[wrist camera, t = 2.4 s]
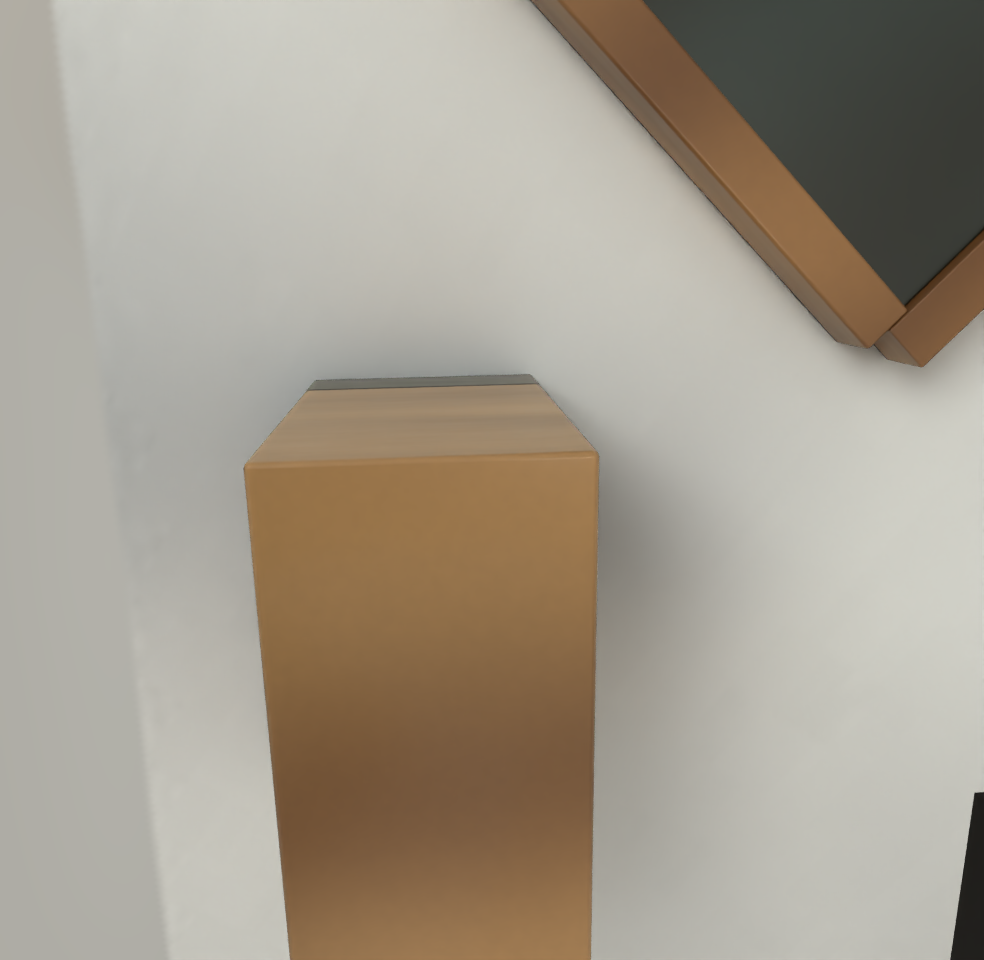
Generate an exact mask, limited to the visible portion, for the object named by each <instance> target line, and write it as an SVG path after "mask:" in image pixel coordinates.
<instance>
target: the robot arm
mask: <svg viewBox="0 0 984 960" xmlns="http://www.w3.org/2000/svg"><path fill="white" fill-rule="evenodd" d="M950 960H984V792H980V793H975V794H974V801H973V808H972V815H971V822H970V828H969V835H968V842H967V849H966V856H965V863H964V870H963V877H962V883H961V890H960V897H959V904H958V911H957V918H956V925H955V931H954V938H953V945H952V952H951V959H950Z"/></svg>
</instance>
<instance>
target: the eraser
mask: <svg viewBox="0 0 984 960" xmlns="http://www.w3.org/2000/svg"><path fill="white" fill-rule="evenodd" d="M244 478H245V489H246V499H247V510H248V520H249V531H250V541H251V552H252V562H253V573H254V584H255V594H256V605H257V615H258V626H259V636H260V647H261V658H262V668H263V679H264V689H265V700H266V710H267V721H268V731H269V742H270V753H271V763H272V774H273V784H274V795H275V805H276V816H277V826H278V837H279V848H280V858H281V869H282V879H283V890H284V900H285V911H286V922H287V932H288V943H289V953H290V960H591V925H592V865H593V805H594V745H595V685H596V625H597V565H598V505H599V454H598V452H597V451H596V450H595V449H594V447H593V446H592V445H591V444H590V443H589V442H588V440H587V439H586V438H585V437H584V436H583V435H582V434H581V432H580V431H579V430H578V429H577V428H576V427H575V425H574V424H573V423H572V422H571V421H570V420H569V419H568V417H567V416H566V415H565V414H564V413H563V412H562V410H561V409H560V408H559V407H558V406H557V405H556V404H555V402H554V401H553V400H552V399H551V398H550V397H549V395H548V394H547V393H546V392H545V391H544V390H543V389H542V387H541V386H540V385H539V383H538V382H537V381H536V380H535V379H534V378H533V376H532V375H530V374H524V375H487V376H450V377H413V378H377V379H340V380H316V381H314V382H313V383H312V385H311V386H310V387H309V388H308V389H307V391H306V392H305V393H304V395H303V396H302V397H301V398H300V399H299V401H298V402H297V403H296V404H295V405H294V407H293V408H292V409H291V410H290V411H289V412H288V414H287V415H286V416H285V417H284V418H283V420H282V421H281V422H280V423H279V424H278V426H277V427H276V428H275V429H274V430H273V431H272V433H271V434H270V435H269V436H268V437H267V439H266V440H265V441H264V442H263V443H262V445H261V446H260V447H259V448H258V449H257V450H256V452H255V453H254V454H253V455H252V456H251V458H250V459H249V460H248V461H247V462H246V464H245V466H244Z"/></svg>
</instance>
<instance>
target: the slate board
mask: <svg viewBox="0 0 984 960" xmlns="http://www.w3.org/2000/svg"><path fill="white" fill-rule="evenodd" d="M531 1H532V2H533V3H534V4H535V5H536V6H537V8H538V9H539V10H540V11H541V12H542V13H543V14H544V15H545V16H546V18H547V19H548V20H549V21H550V22H551V23H552V24H553V25H554V27H555V28H556V29H557V30H558V31H559V32H560V33H561V34H562V35H563V37H564V38H565V39H566V40H567V41H568V42H569V43H570V44H571V46H572V47H573V48H574V49H575V50H576V51H577V52H578V53H579V54H580V56H581V57H582V58H583V59H584V60H585V61H586V62H587V63H588V64H589V66H590V67H591V68H592V69H593V70H594V71H595V72H596V73H597V75H598V76H599V77H600V78H601V79H602V80H603V81H604V82H605V83H606V85H607V86H608V87H609V88H610V89H611V90H612V91H613V92H614V94H615V95H616V96H617V97H618V98H619V99H620V100H621V101H622V102H623V104H624V105H625V106H626V107H627V108H628V109H629V110H630V111H631V113H632V114H633V115H634V116H635V117H636V118H637V119H638V120H639V121H640V123H641V124H642V125H643V126H644V127H645V128H646V129H647V130H648V132H649V133H650V134H651V135H652V136H653V137H654V138H655V139H656V140H657V142H658V143H659V144H660V145H661V146H662V147H663V148H664V149H665V150H666V152H667V153H668V154H669V155H670V156H671V157H672V158H673V159H674V161H675V162H676V163H677V164H678V165H679V166H680V167H681V168H682V169H683V171H684V172H685V173H686V174H687V175H688V176H689V177H690V178H691V180H692V181H693V182H694V183H695V184H696V185H697V186H698V187H699V188H700V190H701V191H702V192H703V193H704V194H705V195H706V196H707V197H708V199H709V200H710V201H711V202H712V203H713V204H714V205H715V206H716V207H717V209H718V210H719V211H720V212H721V213H722V214H723V215H724V216H725V217H726V219H727V220H728V221H729V222H730V223H731V224H732V225H733V226H734V228H735V229H736V230H737V231H738V232H739V233H740V234H741V235H742V236H743V238H744V239H745V240H746V241H747V242H748V243H749V244H750V245H751V247H752V248H753V249H754V250H755V251H756V252H757V253H758V254H759V255H760V257H761V258H762V259H763V260H764V261H765V262H766V263H767V264H768V266H769V267H770V268H771V269H772V270H773V271H774V272H775V273H776V274H777V276H778V277H779V278H780V279H781V280H782V281H783V282H784V283H785V284H786V286H787V287H788V288H789V289H790V290H791V291H792V292H793V293H794V295H795V296H796V297H797V298H798V299H799V300H800V301H801V302H802V303H803V305H804V306H805V307H806V308H807V309H808V310H809V311H810V312H811V314H812V315H813V316H814V317H815V318H816V319H817V320H818V321H819V322H820V324H821V325H822V326H823V327H824V328H825V329H826V330H827V331H828V333H829V334H830V335H831V336H832V337H833V338H834V339H835V340H836V341H837V342H839V343H843V344H848V345H852V346H857V347H862V348H866V349H868V348H870V347H871V346H872V345H873V344H874V345H875V346H876V347H877V348H878V349H879V351H880V352H881V353H882V354H883V355H884V356H885V357H886V358H887V359H888V360H892V361H896V362H900V363H905V364H909V365H913V366H918V367H923V366H925V365H926V364H927V363H928V362H929V361H930V360H931V359H932V358H933V357H934V356H935V355H936V354H937V353H938V352H939V351H940V350H941V349H942V348H943V347H944V346H946V345H947V344H948V343H949V342H950V341H951V340H952V339H953V338H954V337H955V336H956V335H957V334H958V333H959V332H960V331H961V330H962V329H963V328H964V327H965V326H966V325H968V324H969V323H970V322H971V321H972V320H973V319H974V318H975V317H976V316H977V315H978V314H979V313H980V312H981V311H982V310H983V309H984V0H531Z"/></svg>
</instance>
